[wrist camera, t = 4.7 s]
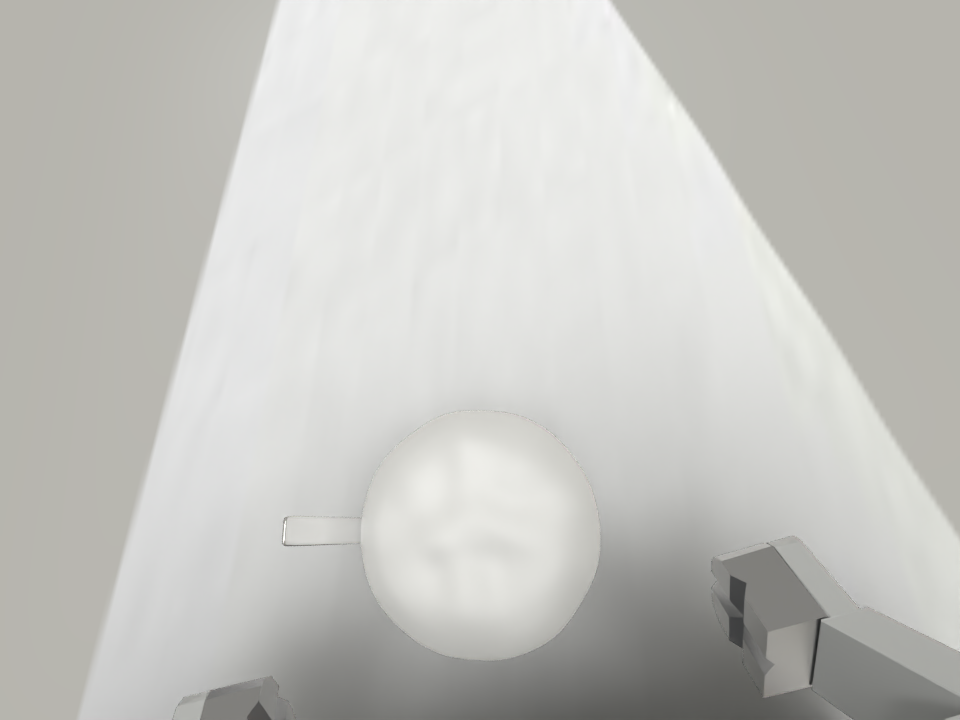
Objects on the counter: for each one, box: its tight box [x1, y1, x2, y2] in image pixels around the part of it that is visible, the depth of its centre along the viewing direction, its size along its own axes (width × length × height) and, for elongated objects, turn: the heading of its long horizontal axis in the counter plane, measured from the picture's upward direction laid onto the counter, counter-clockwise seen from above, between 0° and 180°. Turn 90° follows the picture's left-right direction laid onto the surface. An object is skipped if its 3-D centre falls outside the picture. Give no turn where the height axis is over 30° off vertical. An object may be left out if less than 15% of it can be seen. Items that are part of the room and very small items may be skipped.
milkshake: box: [282, 411, 600, 661], centre depth 14 cm, size 4×5×10 cm
